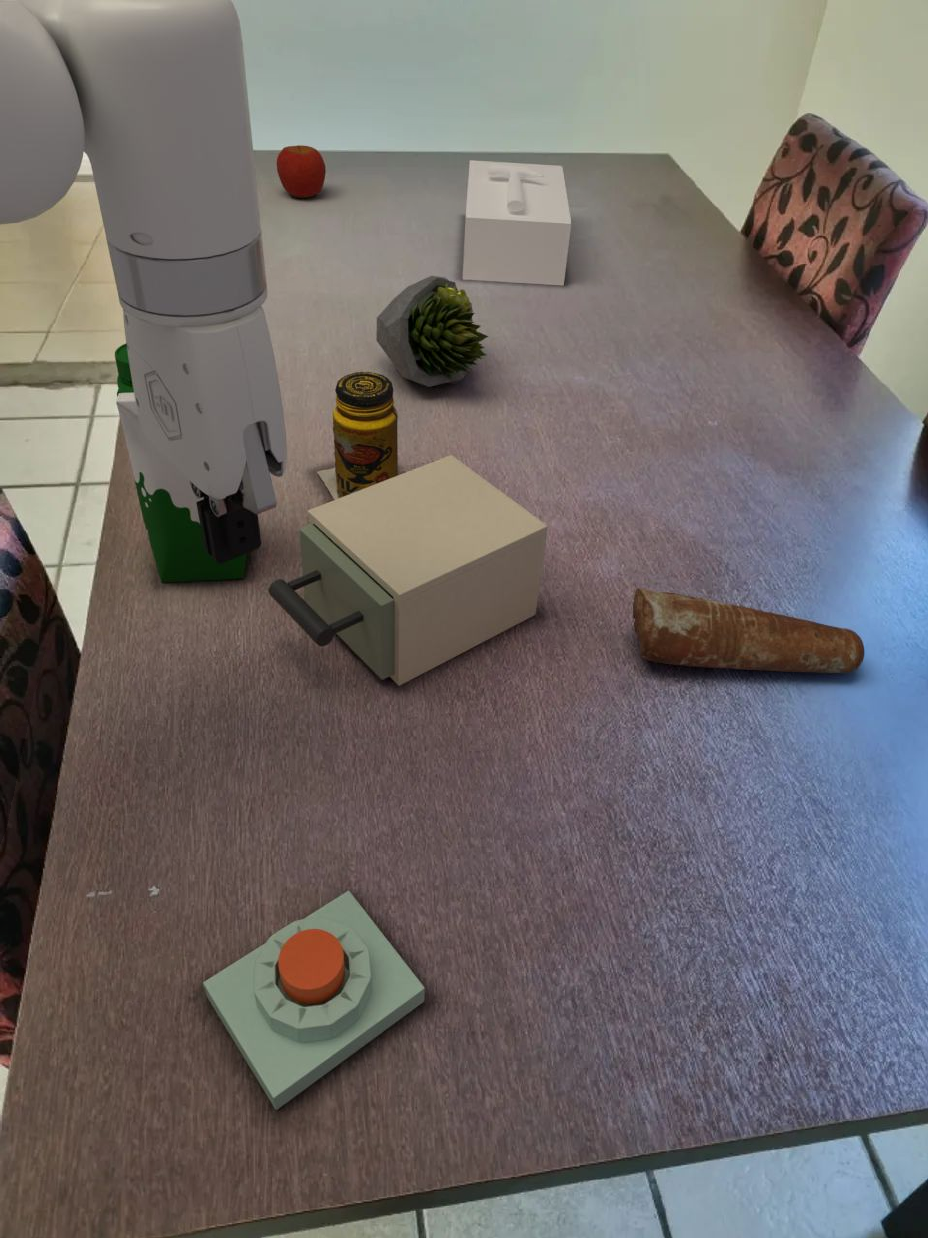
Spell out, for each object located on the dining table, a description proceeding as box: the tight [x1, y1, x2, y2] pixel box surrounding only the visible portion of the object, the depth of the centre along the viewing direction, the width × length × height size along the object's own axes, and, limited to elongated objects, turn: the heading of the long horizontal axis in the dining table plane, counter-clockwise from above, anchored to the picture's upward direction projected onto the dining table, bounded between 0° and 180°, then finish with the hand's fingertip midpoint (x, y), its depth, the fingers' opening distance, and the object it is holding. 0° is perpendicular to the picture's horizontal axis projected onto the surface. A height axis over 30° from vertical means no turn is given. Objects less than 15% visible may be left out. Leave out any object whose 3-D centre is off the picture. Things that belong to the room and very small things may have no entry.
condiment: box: [316, 371, 399, 501], centre depth 90 cm, size 7×8×12 cm
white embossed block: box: [462, 159, 572, 287], centre depth 139 cm, size 14×25×11 cm, turn 178°
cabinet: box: [307, 454, 548, 687], centre depth 78 cm, size 15×13×10 cm
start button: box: [278, 929, 345, 1004], centre depth 53 cm, size 4×4×2 cm
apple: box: [276, 144, 327, 199], centre depth 153 cm, size 8×8×8 cm
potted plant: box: [376, 275, 490, 388], centre depth 108 cm, size 12×13×15 cm
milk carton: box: [114, 343, 247, 583], centre depth 78 cm, size 9×9×20 cm
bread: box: [632, 587, 865, 674], centre depth 76 cm, size 6×19×6 cm, turn 84°
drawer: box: [268, 524, 394, 681], centre depth 76 cm, size 18×11×8 cm, turn 129°
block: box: [202, 890, 426, 1111], centre depth 54 cm, size 10×8×4 cm
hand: (233, 549), depth 60 cm, fingers closed
